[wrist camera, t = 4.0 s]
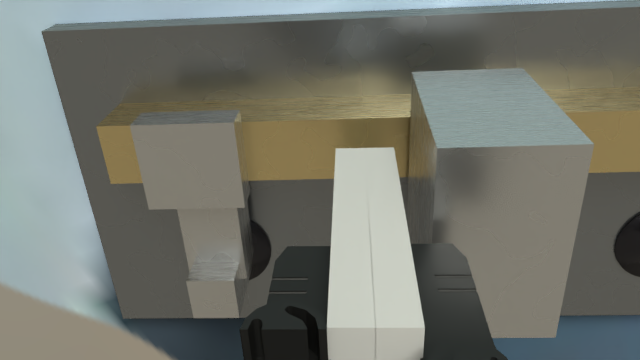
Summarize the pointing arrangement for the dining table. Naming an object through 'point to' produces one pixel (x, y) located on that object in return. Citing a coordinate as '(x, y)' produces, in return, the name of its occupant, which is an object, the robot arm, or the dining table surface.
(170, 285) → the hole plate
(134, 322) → the dining table surface
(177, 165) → the beam
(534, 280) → the block
